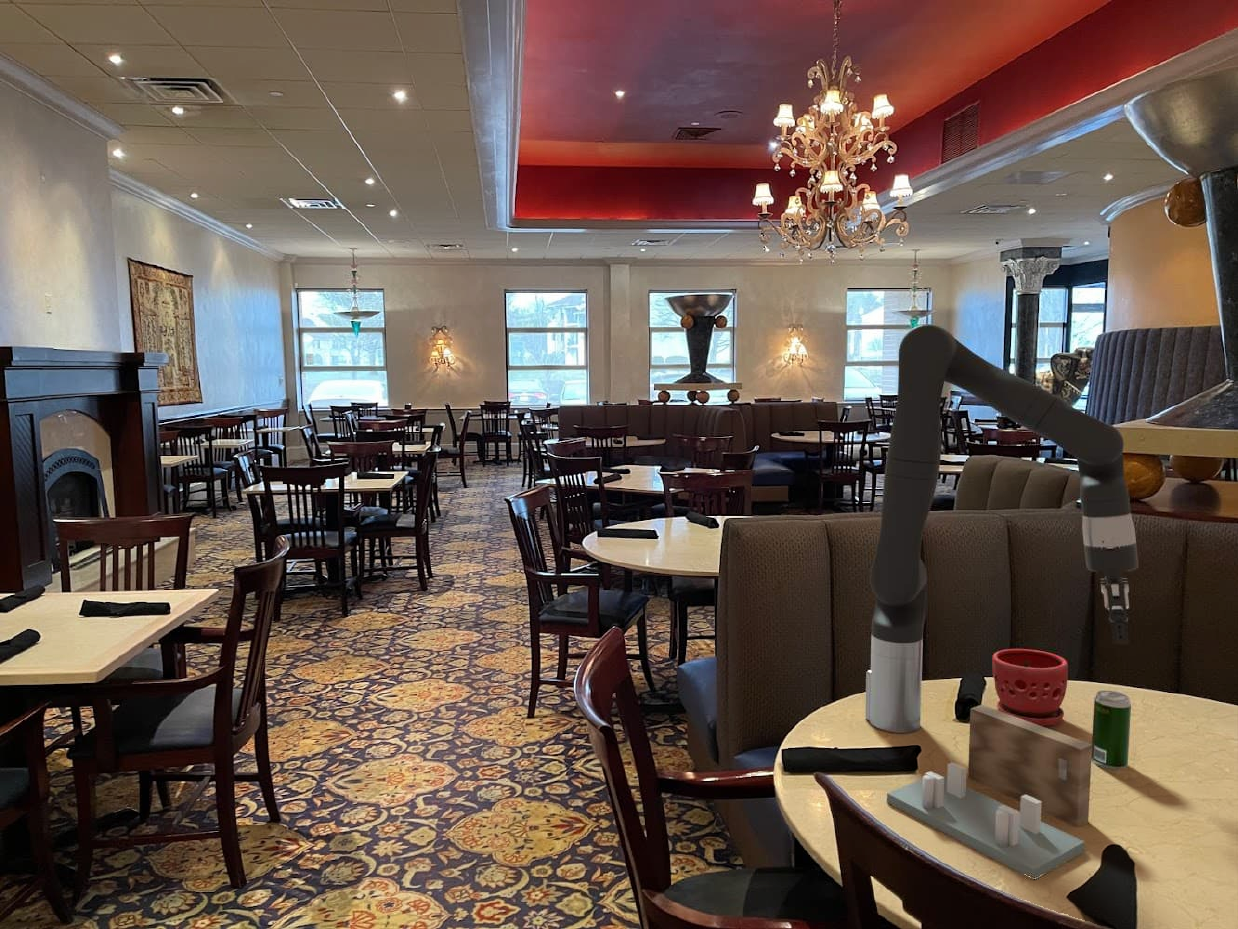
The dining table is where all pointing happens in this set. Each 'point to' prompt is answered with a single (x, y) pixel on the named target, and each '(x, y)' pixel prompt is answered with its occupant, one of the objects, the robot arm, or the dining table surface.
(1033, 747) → the wooden board
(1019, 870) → the pegged base plate
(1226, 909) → the dining table surface
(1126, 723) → the beer can
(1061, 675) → the plant pot
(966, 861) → the dining table surface
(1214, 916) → the dining table surface
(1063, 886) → the dining table surface
